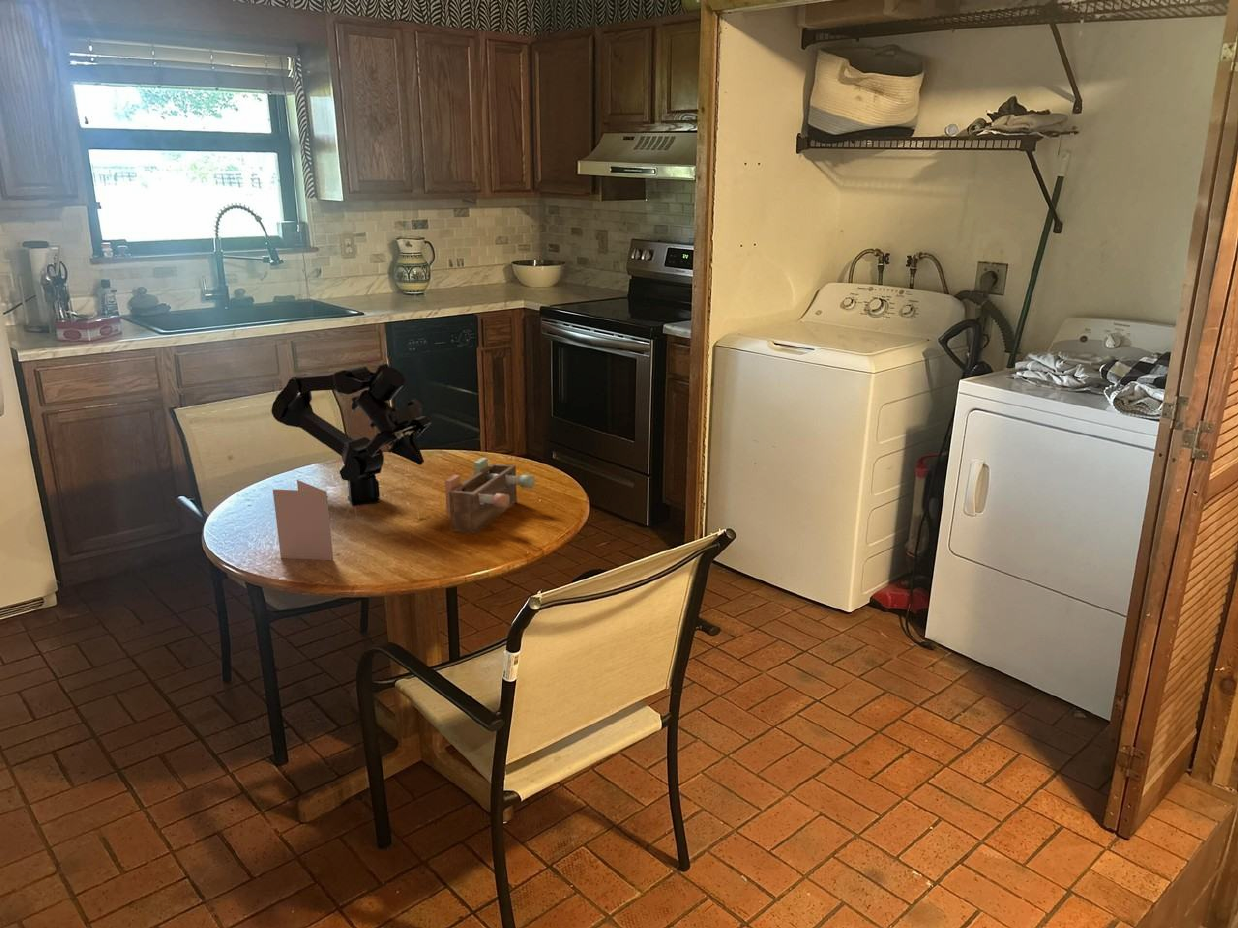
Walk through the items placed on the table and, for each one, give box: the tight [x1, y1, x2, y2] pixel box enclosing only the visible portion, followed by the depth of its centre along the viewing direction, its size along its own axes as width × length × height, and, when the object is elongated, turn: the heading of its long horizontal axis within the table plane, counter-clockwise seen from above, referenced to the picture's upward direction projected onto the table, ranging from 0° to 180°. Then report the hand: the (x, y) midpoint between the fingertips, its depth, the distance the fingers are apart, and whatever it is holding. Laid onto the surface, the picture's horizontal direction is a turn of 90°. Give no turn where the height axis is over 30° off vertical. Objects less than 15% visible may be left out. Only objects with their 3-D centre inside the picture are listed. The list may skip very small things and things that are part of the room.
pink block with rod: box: [444, 474, 510, 516], centre depth 206 cm, size 14×4×8 cm, turn 72°
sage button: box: [473, 457, 536, 489], centre depth 218 cm, size 14×4×8 cm, turn 71°
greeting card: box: [272, 479, 334, 561], centre depth 189 cm, size 11×7×15 cm, turn 48°
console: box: [449, 463, 518, 534], centre depth 213 cm, size 6×22×9 cm, turn 162°
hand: (422, 463), depth 214 cm, fingers closed
